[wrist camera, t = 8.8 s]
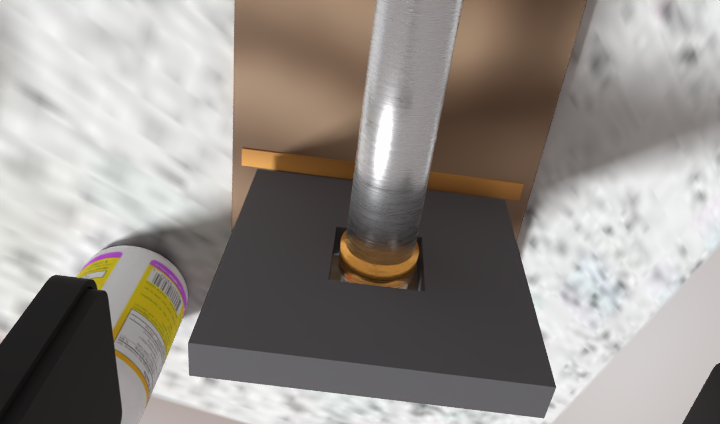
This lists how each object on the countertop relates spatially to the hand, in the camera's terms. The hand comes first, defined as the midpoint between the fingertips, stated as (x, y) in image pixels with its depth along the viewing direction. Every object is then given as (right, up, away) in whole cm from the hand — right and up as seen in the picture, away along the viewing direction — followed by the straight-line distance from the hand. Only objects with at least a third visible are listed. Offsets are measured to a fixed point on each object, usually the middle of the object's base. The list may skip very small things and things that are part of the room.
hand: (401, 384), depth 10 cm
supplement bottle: (-14, -2, +31) cm, 34 cm away
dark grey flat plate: (0, +3, +24) cm, 24 cm away
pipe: (+1, +6, +17) cm, 18 cm away
